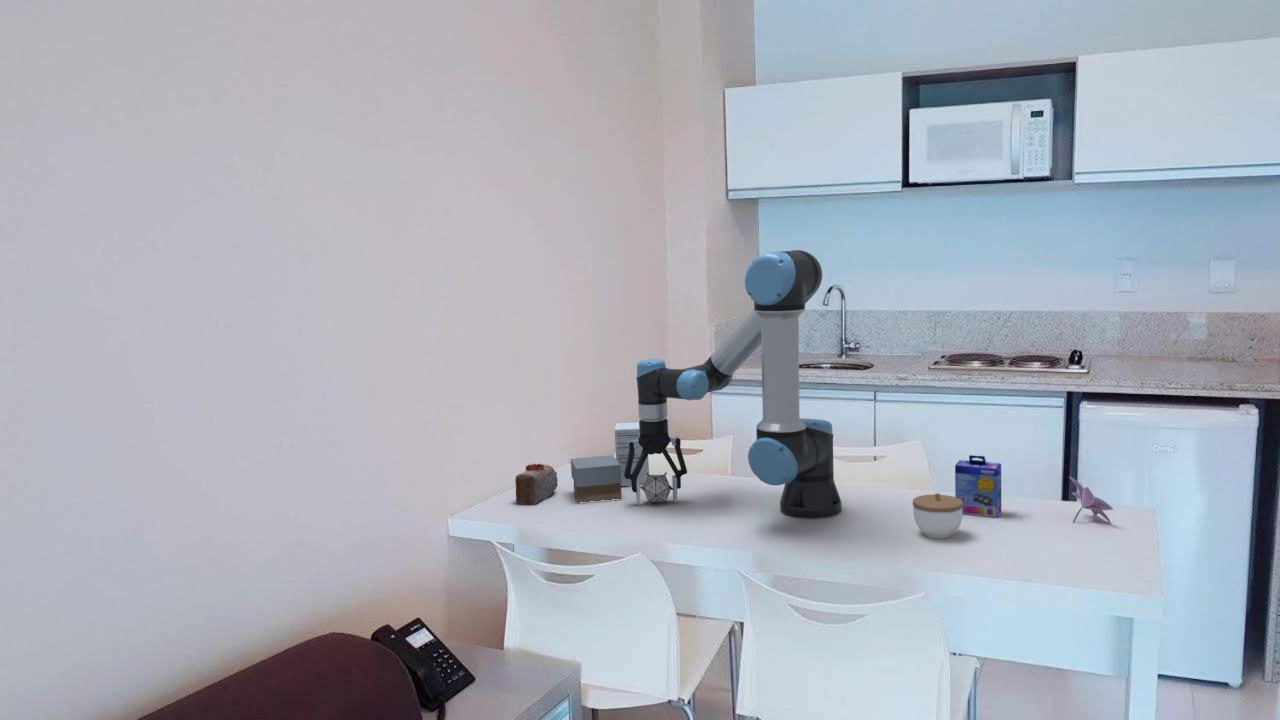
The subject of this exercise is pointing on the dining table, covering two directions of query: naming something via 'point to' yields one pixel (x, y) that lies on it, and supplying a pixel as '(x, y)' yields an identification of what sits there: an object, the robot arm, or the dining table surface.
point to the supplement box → (622, 437)
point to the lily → (1090, 501)
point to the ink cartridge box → (979, 486)
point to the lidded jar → (937, 515)
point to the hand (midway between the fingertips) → (657, 502)
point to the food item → (535, 484)
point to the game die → (656, 488)
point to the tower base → (597, 492)
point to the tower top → (595, 471)
